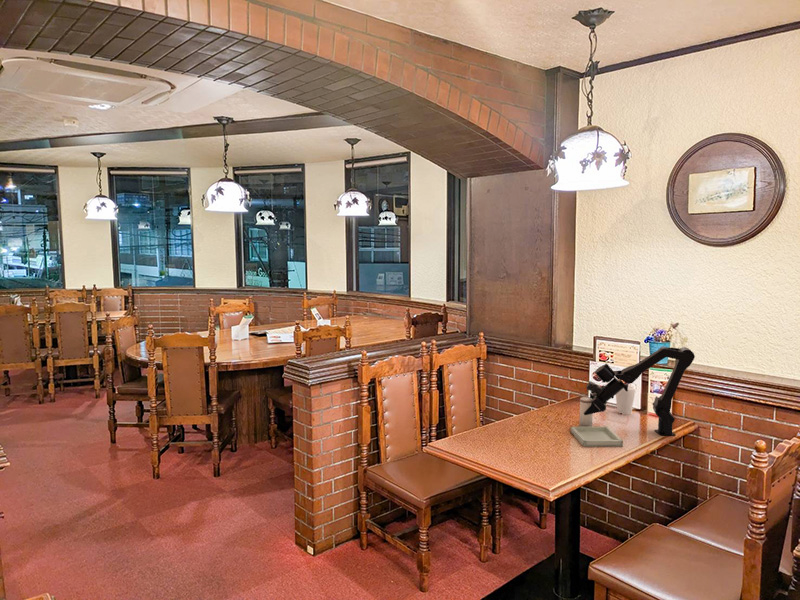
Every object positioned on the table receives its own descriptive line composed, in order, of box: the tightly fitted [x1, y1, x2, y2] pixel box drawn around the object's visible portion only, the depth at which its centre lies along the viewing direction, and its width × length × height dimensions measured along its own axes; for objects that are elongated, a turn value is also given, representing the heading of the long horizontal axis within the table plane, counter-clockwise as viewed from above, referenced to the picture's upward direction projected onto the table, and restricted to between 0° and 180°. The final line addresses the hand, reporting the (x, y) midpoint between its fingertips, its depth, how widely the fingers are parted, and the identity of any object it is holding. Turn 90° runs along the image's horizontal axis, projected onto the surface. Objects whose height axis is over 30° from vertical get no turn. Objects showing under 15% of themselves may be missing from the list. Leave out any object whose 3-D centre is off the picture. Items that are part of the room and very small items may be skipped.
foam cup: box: [615, 384, 637, 415], centre depth 276 cm, size 10×9×13 cm
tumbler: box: [578, 396, 594, 427], centre depth 255 cm, size 6×6×13 cm
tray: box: [570, 426, 624, 448], centre depth 240 cm, size 18×16×2 cm
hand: (583, 411), depth 255 cm, fingers open, 9 cm apart
